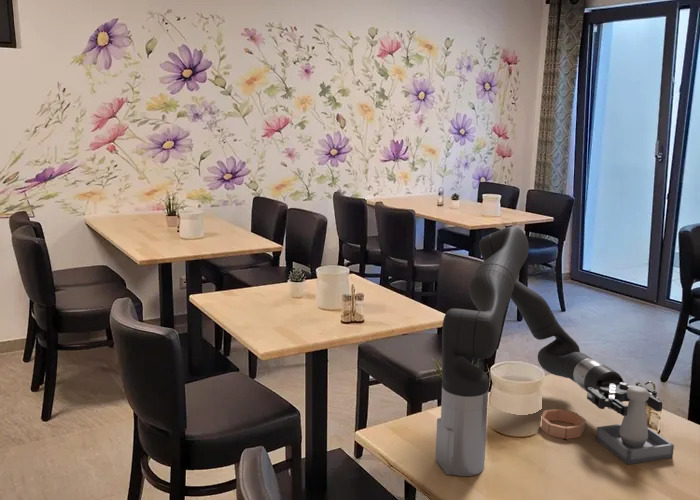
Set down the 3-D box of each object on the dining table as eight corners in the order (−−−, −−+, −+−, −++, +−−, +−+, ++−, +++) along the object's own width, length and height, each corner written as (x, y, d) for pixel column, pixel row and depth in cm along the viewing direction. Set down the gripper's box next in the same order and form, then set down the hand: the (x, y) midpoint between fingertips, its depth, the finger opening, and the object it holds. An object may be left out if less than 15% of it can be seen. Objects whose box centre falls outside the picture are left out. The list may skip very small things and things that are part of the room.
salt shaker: (616, 446, 146) (621, 390, 143) (620, 434, 151) (625, 380, 148) (645, 453, 144) (651, 396, 141) (648, 440, 149) (654, 385, 145)
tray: (627, 464, 141) (629, 451, 140) (595, 439, 151) (596, 427, 151) (672, 457, 144) (674, 444, 143) (638, 433, 154) (639, 421, 153)
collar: (554, 440, 151) (555, 430, 150) (533, 421, 159) (533, 411, 159) (591, 435, 153) (592, 425, 153) (568, 417, 162) (568, 407, 161)
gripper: (571, 367, 156) (616, 396, 141) (625, 361, 160) (674, 389, 145) (569, 397, 158) (612, 429, 143) (622, 391, 161) (670, 422, 146)
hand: (643, 409), depth 144 cm, fingers open, 8 cm apart
